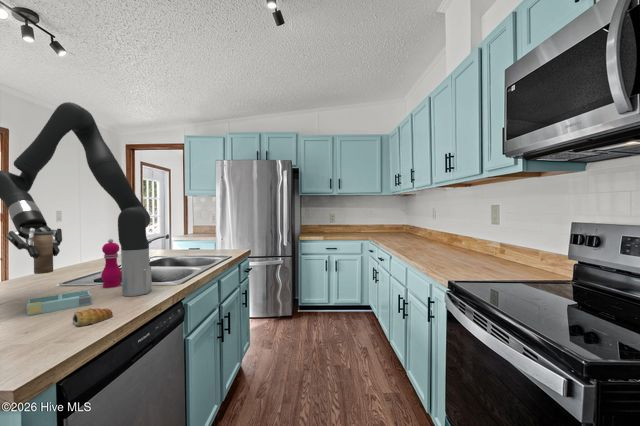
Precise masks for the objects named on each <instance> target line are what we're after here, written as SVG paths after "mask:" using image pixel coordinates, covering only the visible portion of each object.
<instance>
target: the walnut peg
mask: <svg viewBox="0 0 640 426" xmlns="http://www.w3.org/2000/svg"><path fill="white" fill-rule="evenodd" d="M53 239H54V236H53V232H33V246H35V247H36V249H37V251H38V253H39V255H38V257H37V258H35V259H34V258H33V274H35V275H41V274H50V273H54V256H53Z"/></svg>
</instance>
